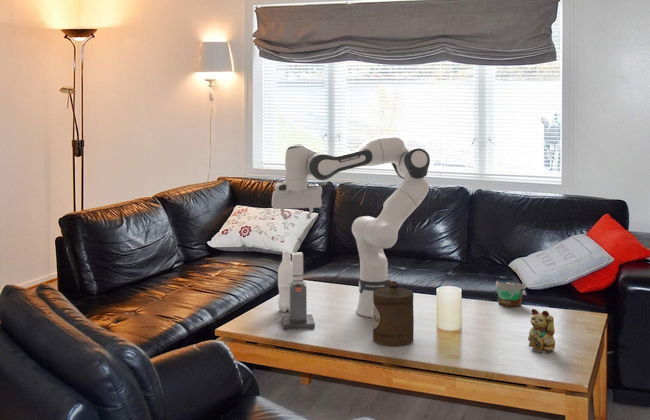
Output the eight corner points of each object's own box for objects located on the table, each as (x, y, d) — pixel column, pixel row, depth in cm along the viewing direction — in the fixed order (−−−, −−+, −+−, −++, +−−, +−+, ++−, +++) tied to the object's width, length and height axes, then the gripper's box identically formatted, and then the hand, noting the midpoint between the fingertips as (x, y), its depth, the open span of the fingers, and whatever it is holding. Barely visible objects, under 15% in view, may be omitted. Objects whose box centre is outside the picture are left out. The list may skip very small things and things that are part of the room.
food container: (492, 306, 332) (493, 283, 330) (495, 302, 338) (495, 280, 336) (522, 309, 327) (523, 286, 326) (524, 305, 333) (525, 282, 331)
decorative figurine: (524, 350, 279) (525, 308, 276) (533, 344, 285) (535, 303, 283) (550, 355, 273) (552, 313, 270) (559, 349, 279) (561, 308, 277)
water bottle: (293, 313, 323) (292, 253, 319) (276, 312, 324) (275, 253, 320) (297, 308, 330) (296, 249, 326) (280, 307, 331) (280, 249, 327)
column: (302, 302, 309) (302, 252, 306) (303, 305, 305) (303, 254, 302) (292, 302, 309) (291, 252, 306) (293, 305, 305) (292, 254, 302)
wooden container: (377, 332, 299) (378, 275, 295) (416, 335, 295) (417, 278, 291) (368, 344, 285) (368, 285, 281) (409, 348, 281) (410, 288, 277)
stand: (311, 319, 315) (311, 278, 312) (314, 328, 303) (314, 286, 301) (281, 320, 314) (281, 279, 311) (283, 329, 302) (283, 287, 299)
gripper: (321, 183, 322) (321, 216, 324) (270, 184, 319) (271, 218, 322) (323, 185, 316) (323, 219, 318) (272, 186, 313) (272, 221, 316)
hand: (296, 219), depth 320 cm, fingers open, 8 cm apart
